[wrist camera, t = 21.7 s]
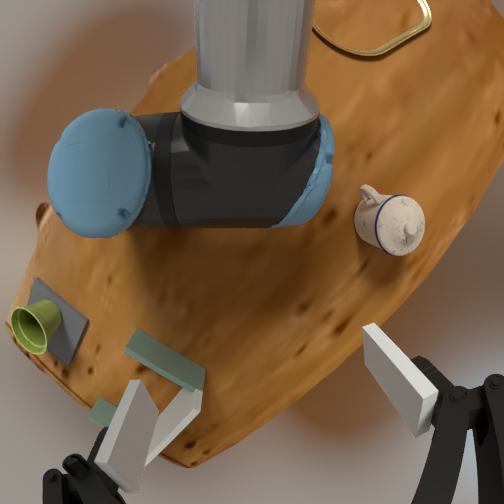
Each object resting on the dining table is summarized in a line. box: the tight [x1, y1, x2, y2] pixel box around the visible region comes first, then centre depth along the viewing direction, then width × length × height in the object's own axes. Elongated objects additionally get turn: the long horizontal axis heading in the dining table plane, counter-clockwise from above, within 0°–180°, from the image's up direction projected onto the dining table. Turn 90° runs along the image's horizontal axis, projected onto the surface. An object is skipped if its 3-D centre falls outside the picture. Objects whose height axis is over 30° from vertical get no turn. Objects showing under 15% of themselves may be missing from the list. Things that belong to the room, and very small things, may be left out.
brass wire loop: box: [312, 0, 431, 56], centre depth 36 cm, size 19×35×2 cm, turn 131°
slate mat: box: [27, 277, 89, 366], centre depth 46 cm, size 14×14×1 cm
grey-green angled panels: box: [87, 328, 206, 467], centre depth 45 cm, size 15×24×12 cm, turn 144°
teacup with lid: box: [354, 185, 425, 256], centre depth 40 cm, size 12×9×12 cm
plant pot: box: [10, 299, 62, 355], centre depth 41 cm, size 9×9×9 cm
